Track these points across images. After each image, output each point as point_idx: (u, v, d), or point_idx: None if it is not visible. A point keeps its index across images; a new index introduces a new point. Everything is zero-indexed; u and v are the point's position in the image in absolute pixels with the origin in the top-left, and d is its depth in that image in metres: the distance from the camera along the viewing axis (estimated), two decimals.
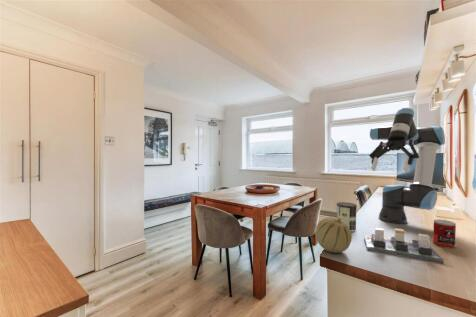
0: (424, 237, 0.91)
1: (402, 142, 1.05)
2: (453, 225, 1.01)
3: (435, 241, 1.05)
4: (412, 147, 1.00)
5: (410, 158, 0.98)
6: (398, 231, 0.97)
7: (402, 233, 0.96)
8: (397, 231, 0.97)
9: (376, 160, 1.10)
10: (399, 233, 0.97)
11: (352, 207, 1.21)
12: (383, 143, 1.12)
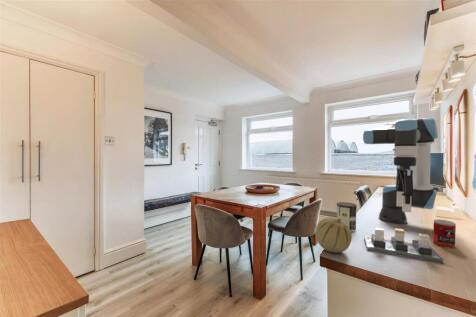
0: (424, 237, 0.91)
1: (403, 171, 0.90)
2: (453, 225, 1.01)
3: (435, 241, 1.05)
4: (404, 182, 0.87)
5: (405, 197, 0.87)
6: (398, 231, 0.97)
7: (402, 233, 0.96)
8: (397, 231, 0.97)
9: (400, 194, 0.97)
10: (399, 233, 0.97)
11: (352, 207, 1.21)
12: (399, 169, 0.98)
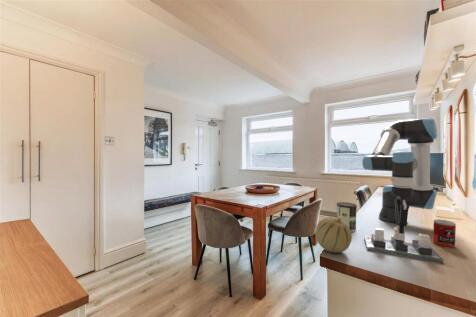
0: (424, 237, 0.91)
1: (400, 201, 0.94)
2: (453, 225, 1.01)
3: (435, 241, 1.05)
4: (400, 214, 0.93)
5: (399, 227, 0.95)
6: None
7: None
8: (396, 230, 0.99)
9: None
10: None
11: (352, 207, 1.21)
12: None
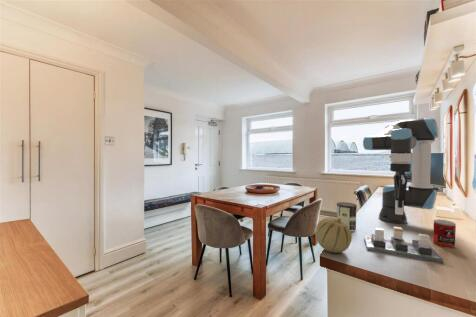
0: (424, 237, 0.91)
1: (398, 176, 0.98)
2: (453, 225, 1.01)
3: (435, 241, 1.05)
4: (398, 189, 0.97)
5: (398, 201, 0.99)
6: (397, 229, 1.00)
7: (400, 231, 0.99)
8: (396, 229, 1.00)
9: None
10: (397, 231, 1.00)
11: (352, 207, 1.21)
12: None
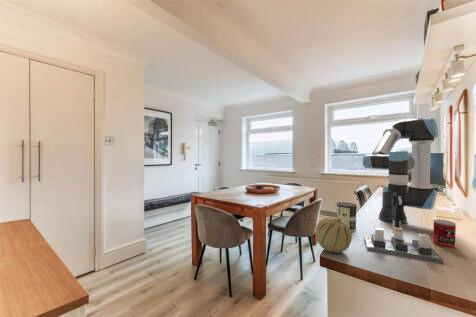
0: (424, 237, 0.91)
1: (395, 197, 1.00)
2: (453, 225, 1.01)
3: (435, 241, 1.05)
4: (396, 210, 0.99)
5: (395, 221, 1.02)
6: (397, 229, 0.99)
7: (401, 231, 0.99)
8: (396, 229, 0.99)
9: None
10: (398, 231, 0.99)
11: (352, 207, 1.21)
12: None
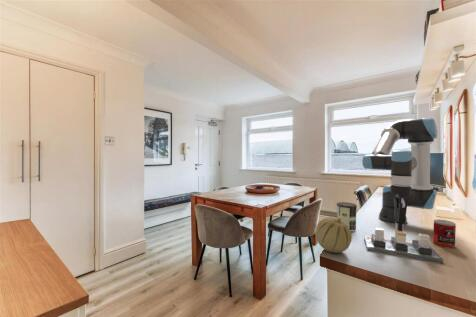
0: (424, 237, 0.91)
1: (398, 199, 0.96)
2: (453, 225, 1.01)
3: (435, 241, 1.05)
4: (398, 212, 0.95)
5: (398, 225, 0.97)
6: (400, 233, 0.94)
7: (404, 235, 0.94)
8: (399, 233, 0.95)
9: None
10: (401, 235, 0.94)
11: (352, 207, 1.21)
12: None
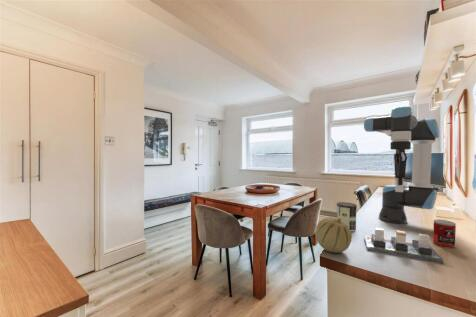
0: (424, 237, 0.91)
1: (398, 154, 0.99)
2: (453, 225, 1.01)
3: (435, 241, 1.05)
4: (398, 166, 0.98)
5: (398, 179, 1.00)
6: (400, 233, 0.94)
7: (404, 235, 0.94)
8: (399, 233, 0.95)
9: None
10: (401, 235, 0.94)
11: (352, 207, 1.21)
12: None
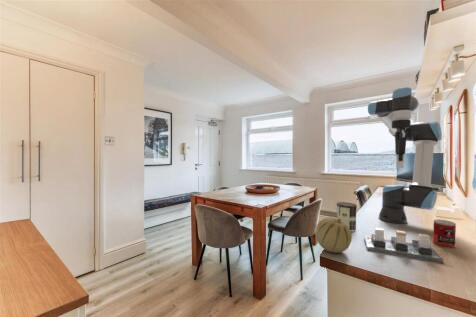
0: (424, 237, 0.91)
1: (399, 132, 1.06)
2: (453, 225, 1.01)
3: (435, 241, 1.05)
4: (399, 143, 1.05)
5: (399, 155, 1.07)
6: (400, 233, 0.94)
7: (404, 235, 0.94)
8: (399, 233, 0.95)
9: None
10: (401, 235, 0.94)
11: (352, 207, 1.21)
12: None
